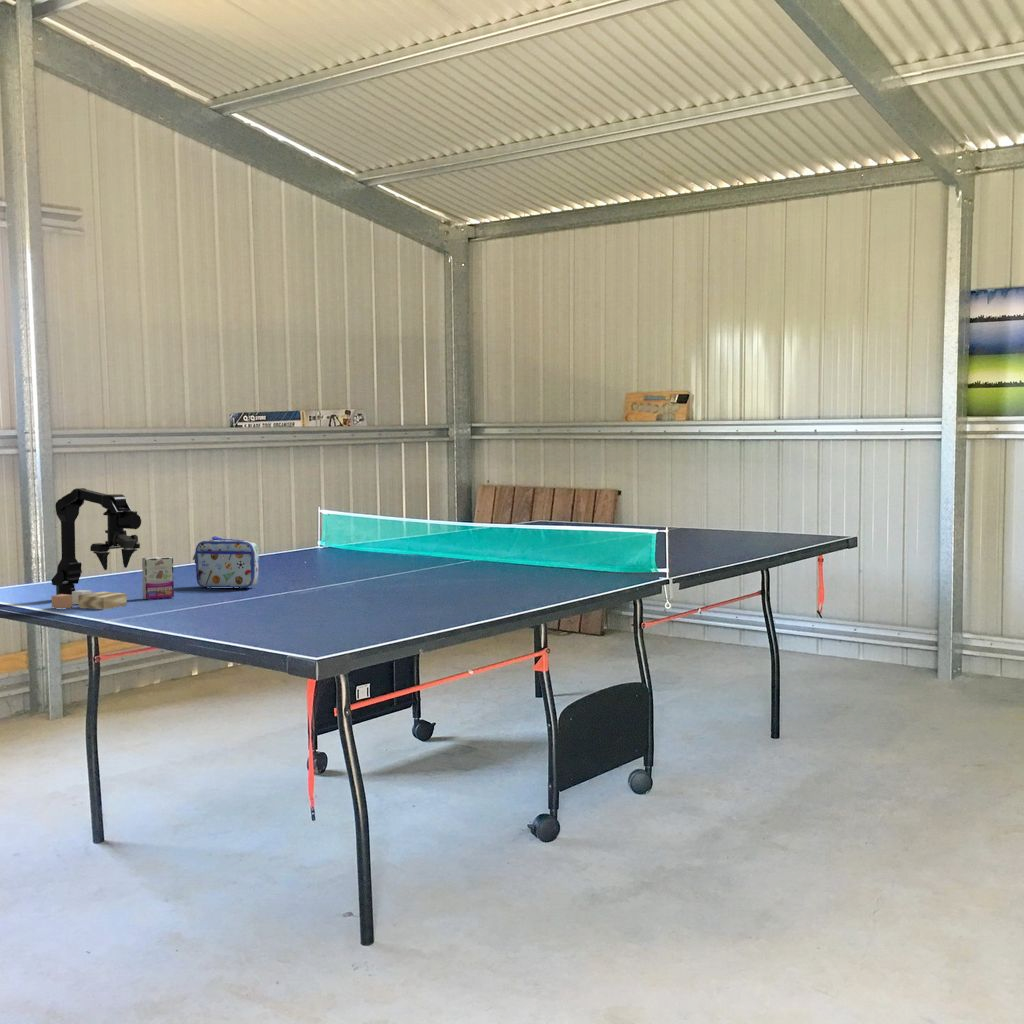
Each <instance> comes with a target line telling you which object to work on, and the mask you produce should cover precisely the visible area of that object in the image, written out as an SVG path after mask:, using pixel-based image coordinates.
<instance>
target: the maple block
mask: <svg viewBox="0 0 1024 1024" xmlns="http://www.w3.org/2000/svg"><path fill="white" fill-rule="evenodd" d="M127 595H128V593H124V592H114V591H112V592H111V591H98V592H97V591H96V592H92V593H90V594H84V595H78V600H79V605H78V608H79V607H80V608H79V609H86V608H92V609H91V610H97V609H103V610H102V611H105V610H104V609H107V610H110V608H112V609H115V608H114V607H117V608H120V607H119V606H122V607H125V606H124V605H127V604H128V598H127V597H128V596H127ZM127 606H128V605H127Z"/></svg>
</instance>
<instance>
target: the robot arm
mask: <svg viewBox="0 0 1024 1024" xmlns="http://www.w3.org/2000/svg"><path fill="white" fill-rule="evenodd" d="M86 501H87V502H90V503H94V504H98V505H100V506H101V507H102V508H104V509H106V510H105V511H104V512H103V513H102V515H103V516H106V517H107V529H105V530H104V531H105V532H104V533H105V534H107V540H105V541H104V542H105V543H104V542H103V543H102V542H96V543H92V544H91V545H90V552H93V554H95V555H96V557H97V558H98V560H99V562H100V564H101V566H102V568H103V570H104V571H107V570H108V557H109V555H110V550H115V549H121V557H122V558H121V559H122V566H123V568H126V569H127V567H128V566H129V564H130V563H129V562H130V560H131V558H132V555H133V554H134V553H135V552H136V551H138V549H140V548H141V544H140V542H139V537H138V535H137V534H131V535H127V530H124V529H128V530H137V529H139V528H140V527H141V525H142V518H141V516H140V515H139V514H138V511H136V510H132V508H131V506H130V503H129V502H128V500H127V498H126V496H125V495H123V494H107V493H103V492H98V491H94V490H90V489H87V488H85V487H81V488H80V487H78V488H74V489H72V490H71V491H70V492H68V493H67V494H66V495H64V496H62V497H61V498H60V499H58V500H57V501H56V502H55V513H56V514H55V515H56V516H57V518H58V520H59V521H60V531H61V533H60V534H61V535H60V538H61V545H60V546H61V558H60V561H59V562H58V565H57V567H56V568H57V569H56V573H55V575H54V576H53V577H52V578H51V580H50V581H51V584H52V586H55V588H56V589H55V590H56V592H55V593H56V594H55V595H60V594H67V595H72V591H76V587H75V584H79V581H80V578H81V576H82V575H81V574H82V573H83V571H82V566H83V565H82V562H79V561H78V559H77V557H76V523H75V522H76V520H77V518H78V517H79V514H80V508H81V507H82V506H83V505H84V504H85V502H86Z"/></svg>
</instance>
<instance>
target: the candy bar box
mask: <svg viewBox="0 0 1024 1024" xmlns="http://www.w3.org/2000/svg"><path fill="white" fill-rule="evenodd" d="M141 564H142V565H141V567H142V570H141V571H142V573H141V574H142V575H141V577H142V599H143V598H144V599H143V600H145V599H154V600H160V599H159V598H166V599H173V598H172V597H174V598H175V595H174V594H175V589H174V588H175V587H174V557H172V556H158V557H156V556H155V557H142V559H141Z"/></svg>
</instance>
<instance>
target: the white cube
mask: <svg viewBox="0 0 1024 1024" xmlns="http://www.w3.org/2000/svg"><path fill="white" fill-rule="evenodd" d="M90 593H93V591H92V590H90V589H89V590H87V589H86V590H85V589H79V590H75V591H72V605H75V604H79V600H78V595H84V594H90Z"/></svg>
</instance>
